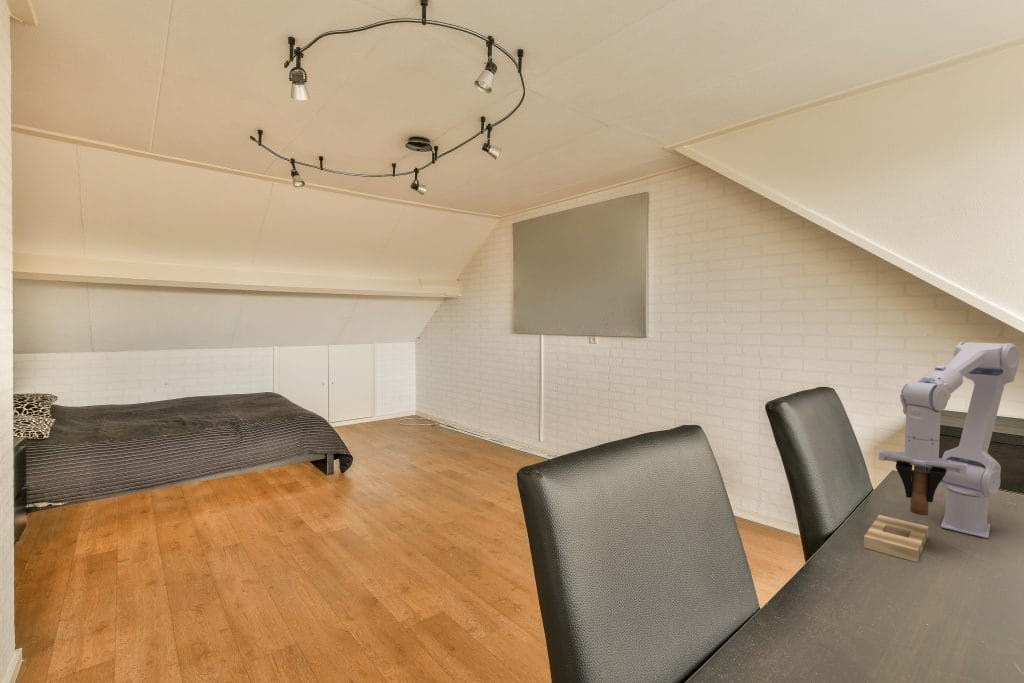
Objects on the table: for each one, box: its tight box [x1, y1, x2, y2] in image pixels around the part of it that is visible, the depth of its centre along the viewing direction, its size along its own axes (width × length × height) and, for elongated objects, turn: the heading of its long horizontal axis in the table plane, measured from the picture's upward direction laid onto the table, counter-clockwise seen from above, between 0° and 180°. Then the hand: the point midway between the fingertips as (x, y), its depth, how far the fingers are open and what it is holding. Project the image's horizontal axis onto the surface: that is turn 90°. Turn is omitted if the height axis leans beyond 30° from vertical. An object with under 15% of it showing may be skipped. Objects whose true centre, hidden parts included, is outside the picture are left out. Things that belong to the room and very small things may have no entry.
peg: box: [909, 469, 930, 516], centre depth 106 cm, size 3×3×9 cm
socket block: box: [863, 514, 929, 563], centre depth 107 cm, size 16×9×2 cm, turn 134°
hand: (919, 498), depth 106 cm, fingers closed on peg, 3 cm apart
